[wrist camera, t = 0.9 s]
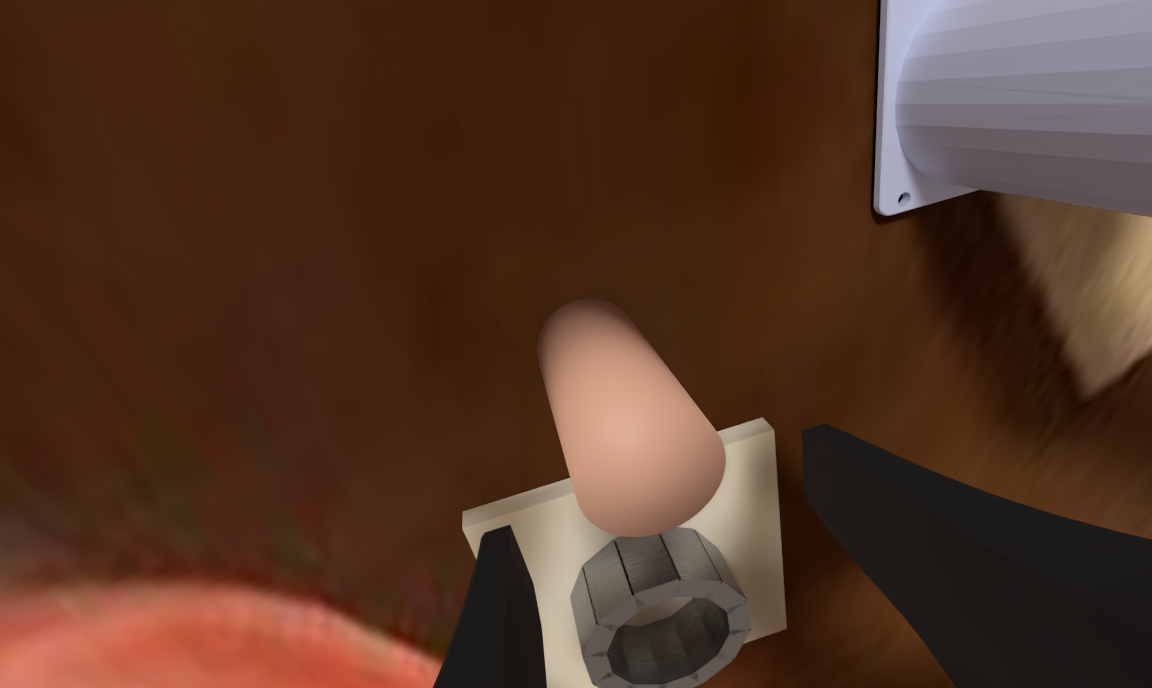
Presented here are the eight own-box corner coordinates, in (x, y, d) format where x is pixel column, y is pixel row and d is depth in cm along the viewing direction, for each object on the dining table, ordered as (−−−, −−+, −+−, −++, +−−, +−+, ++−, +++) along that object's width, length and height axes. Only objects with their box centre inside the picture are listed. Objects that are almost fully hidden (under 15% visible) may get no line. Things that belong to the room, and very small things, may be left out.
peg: (626, 285, 20) (718, 389, 12) (643, 374, 21) (732, 509, 14) (524, 315, 19) (558, 438, 12) (550, 402, 21) (593, 555, 14)
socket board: (762, 417, 23) (815, 473, 20) (777, 613, 30) (819, 682, 26) (462, 511, 22) (461, 588, 19) (543, 693, 29) (554, 777, 25)
